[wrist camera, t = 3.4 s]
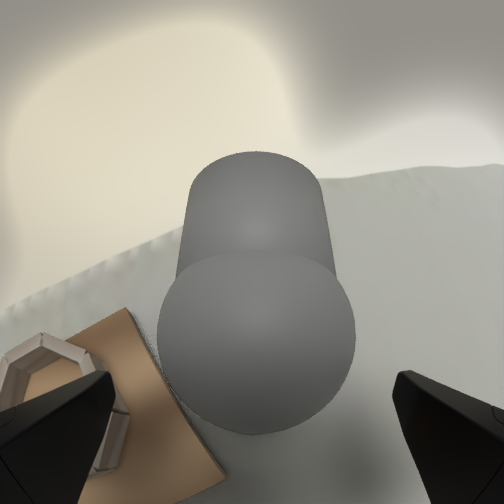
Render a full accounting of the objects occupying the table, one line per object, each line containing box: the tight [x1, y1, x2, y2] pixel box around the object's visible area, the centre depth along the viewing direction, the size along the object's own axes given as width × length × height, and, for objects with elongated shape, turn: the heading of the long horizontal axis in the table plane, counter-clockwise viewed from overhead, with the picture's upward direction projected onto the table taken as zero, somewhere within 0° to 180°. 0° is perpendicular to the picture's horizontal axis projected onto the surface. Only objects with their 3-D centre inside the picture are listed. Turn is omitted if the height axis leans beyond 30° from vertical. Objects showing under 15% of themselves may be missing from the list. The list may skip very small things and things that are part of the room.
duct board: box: [0, 307, 227, 504], centre depth 11 cm, size 12×20×6 cm, turn 124°
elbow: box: [157, 151, 356, 435], centre depth 12 cm, size 7×5×14 cm
